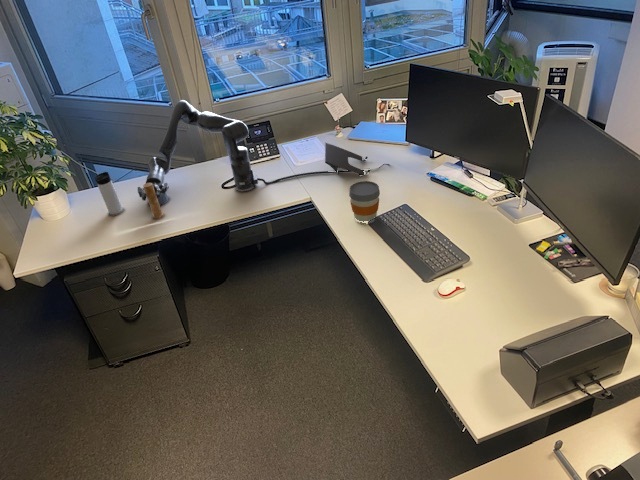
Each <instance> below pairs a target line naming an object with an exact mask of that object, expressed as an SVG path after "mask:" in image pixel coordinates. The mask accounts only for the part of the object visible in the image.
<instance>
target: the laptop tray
mask: <svg viewBox="0 0 640 480" xmlns="http://www.w3.org/2000/svg"><path fill="white" fill-rule="evenodd" d="M362 157H363V156H362V155H359V154H357V153H355V152H352V151H350V150H347V149H344V148H342V147H339V146H336V145H334V144H331V143H330V142H329V143H328V142H324V163H325V164H326V165H328V166H329V167H330V168H331V169H332V170H333V171H336V173H335V174H337V170H338V171H339V169H341V170H348V171H351V172H350V173H354V174H358V176H359V175H363V176H365V175H364V172H363V170H361V169H362V168H358V167H357V166H354V165H353V164H350V163H349V158H352V159H354V160H358V161H360V162H367V160H368V156H365V158H364V161H362ZM365 159H367V160H365ZM338 168H339V169H338ZM367 172H369V173H370V172H371V170H368V171H367ZM339 174H340V173H338V174H337V175H339Z"/></svg>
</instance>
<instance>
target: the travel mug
mask: <svg viewBox="0 0 640 480" xmlns="http://www.w3.org/2000/svg"><path fill="white" fill-rule="evenodd" d="M94 177H95V182H96V185H97V187H98V189H99V193H100V194H101V197H102V199H103V201H104V204H105V206H106V209H107V211H108V213H109V215H110V216H117V215H119V214H121V213H122V212H123V211H124V209H123V206H122V203H121V201H120V198H119V195H118V193H117V191H116V188H115V186H114V183H113V181H112V179H111V176H110V174H109V171H104V172H101V173H99V174H97V175H96V176H94Z"/></svg>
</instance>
